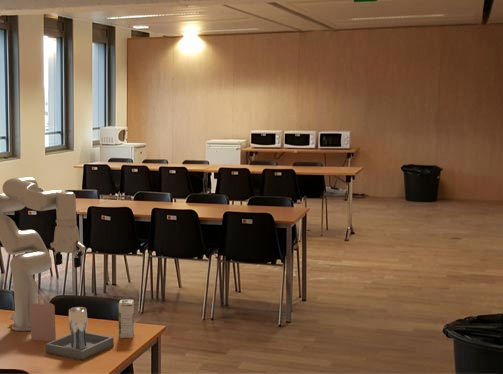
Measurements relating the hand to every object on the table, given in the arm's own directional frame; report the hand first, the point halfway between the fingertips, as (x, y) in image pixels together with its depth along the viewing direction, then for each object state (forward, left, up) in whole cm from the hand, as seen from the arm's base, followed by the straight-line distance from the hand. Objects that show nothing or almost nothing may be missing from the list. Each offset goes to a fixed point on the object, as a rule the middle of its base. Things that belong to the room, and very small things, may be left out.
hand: (68, 265), depth 285 cm
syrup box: (+17, +14, -31) cm, 38 cm away
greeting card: (-10, -5, -31) cm, 32 cm away
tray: (+11, -7, -30) cm, 33 cm away
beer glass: (+10, -7, -30) cm, 32 cm away
